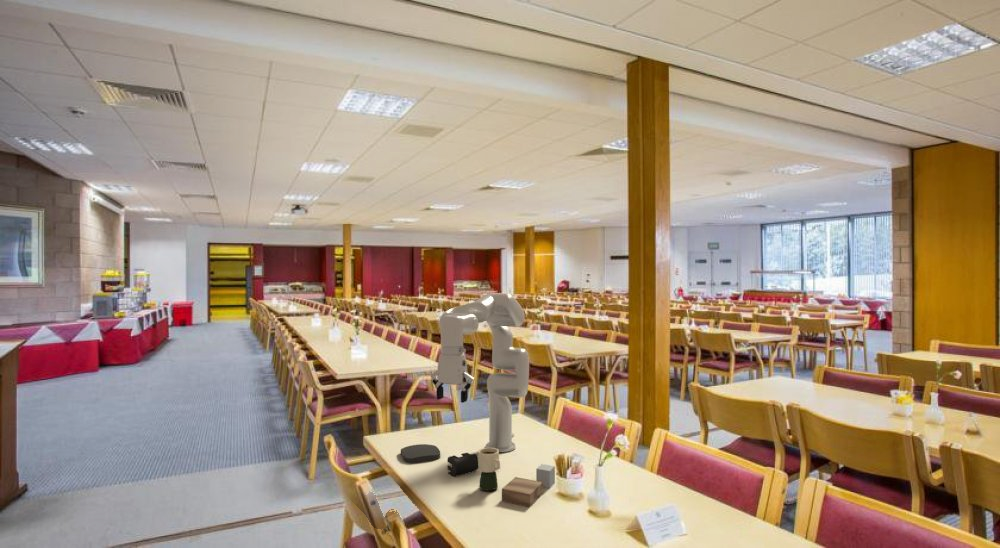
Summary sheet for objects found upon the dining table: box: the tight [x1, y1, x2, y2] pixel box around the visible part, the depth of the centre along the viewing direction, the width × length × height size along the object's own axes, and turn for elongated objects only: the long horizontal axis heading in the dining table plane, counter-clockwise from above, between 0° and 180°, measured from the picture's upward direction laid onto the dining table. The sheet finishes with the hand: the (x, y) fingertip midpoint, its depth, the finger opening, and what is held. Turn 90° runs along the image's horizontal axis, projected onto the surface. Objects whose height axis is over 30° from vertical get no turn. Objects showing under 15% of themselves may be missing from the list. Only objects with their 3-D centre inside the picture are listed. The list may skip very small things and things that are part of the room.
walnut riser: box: [501, 476, 544, 508], centre depth 174 cm, size 11×10×4 cm
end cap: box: [446, 452, 479, 478], centre depth 195 cm, size 10×7×7 cm
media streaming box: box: [400, 443, 441, 464], centre depth 214 cm, size 15×15×3 cm
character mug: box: [477, 447, 501, 491], centre depth 181 cm, size 11×7×13 cm, turn 43°
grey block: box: [535, 463, 556, 489], centre depth 185 cm, size 5×5×6 cm
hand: (451, 400), depth 183 cm, fingers open, 9 cm apart
